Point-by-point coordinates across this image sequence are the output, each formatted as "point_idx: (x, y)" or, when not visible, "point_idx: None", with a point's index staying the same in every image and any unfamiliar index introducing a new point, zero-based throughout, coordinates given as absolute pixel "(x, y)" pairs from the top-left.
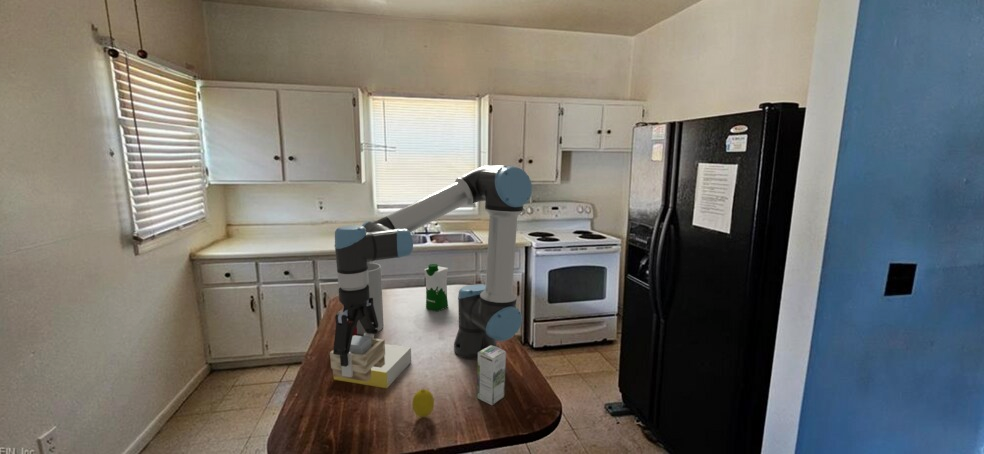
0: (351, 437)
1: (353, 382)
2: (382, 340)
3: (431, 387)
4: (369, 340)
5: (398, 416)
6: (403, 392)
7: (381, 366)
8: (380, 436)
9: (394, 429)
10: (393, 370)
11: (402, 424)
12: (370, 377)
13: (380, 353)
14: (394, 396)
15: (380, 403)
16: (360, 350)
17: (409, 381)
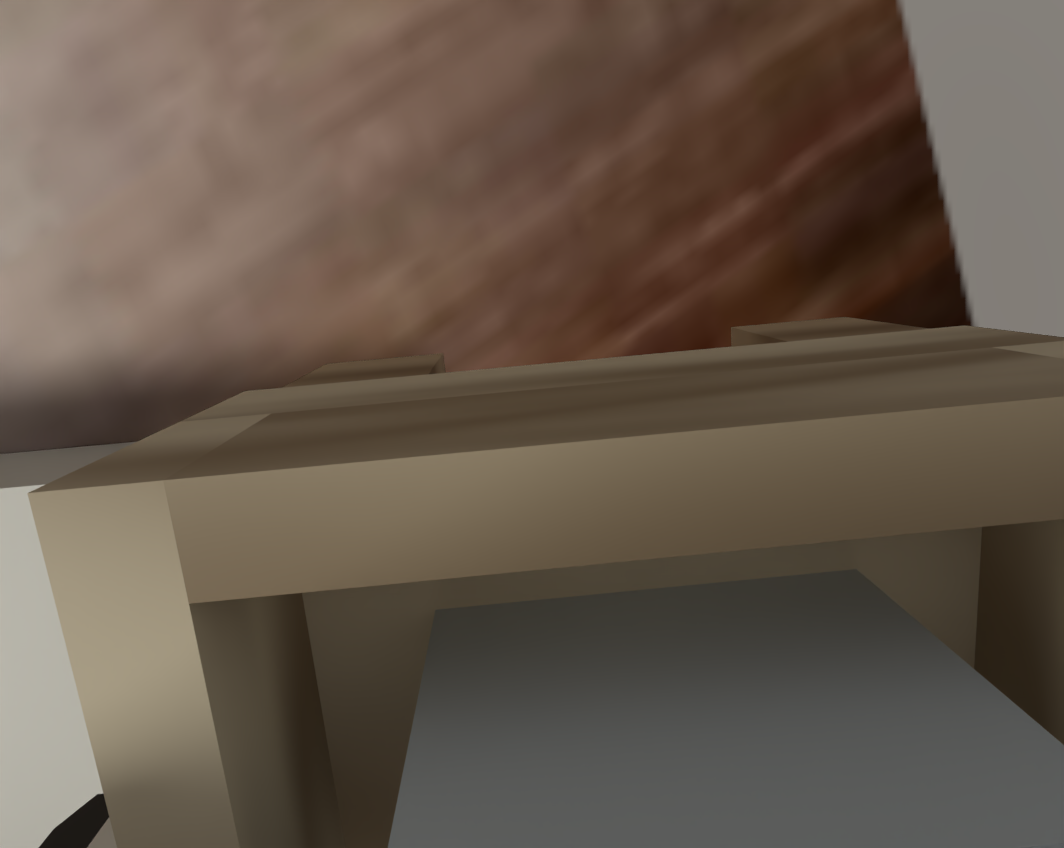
0: (882, 309)
1: None
2: (121, 515)
3: (51, 38)
4: (510, 838)
5: (555, 103)
6: (241, 257)
7: (432, 355)
8: (817, 102)
9: (712, 39)
10: (61, 469)
11: (636, 8)
12: (760, 326)
13: (406, 396)
14: (326, 299)
15: (457, 354)
16: (1011, 725)
17: (66, 301)
